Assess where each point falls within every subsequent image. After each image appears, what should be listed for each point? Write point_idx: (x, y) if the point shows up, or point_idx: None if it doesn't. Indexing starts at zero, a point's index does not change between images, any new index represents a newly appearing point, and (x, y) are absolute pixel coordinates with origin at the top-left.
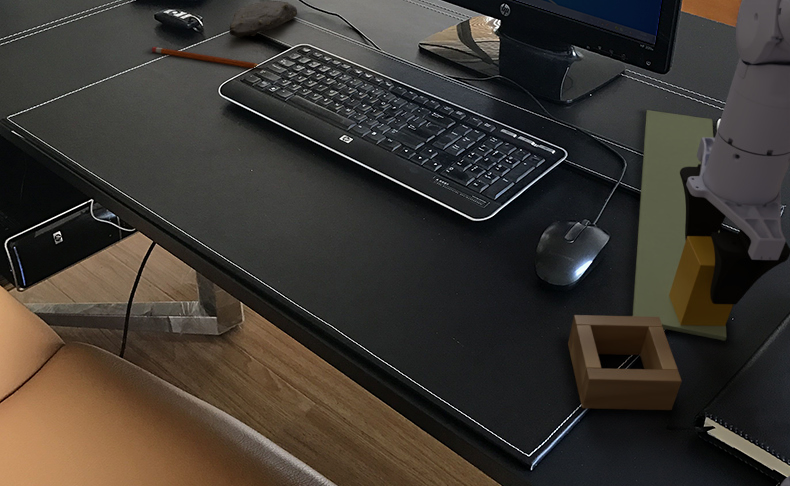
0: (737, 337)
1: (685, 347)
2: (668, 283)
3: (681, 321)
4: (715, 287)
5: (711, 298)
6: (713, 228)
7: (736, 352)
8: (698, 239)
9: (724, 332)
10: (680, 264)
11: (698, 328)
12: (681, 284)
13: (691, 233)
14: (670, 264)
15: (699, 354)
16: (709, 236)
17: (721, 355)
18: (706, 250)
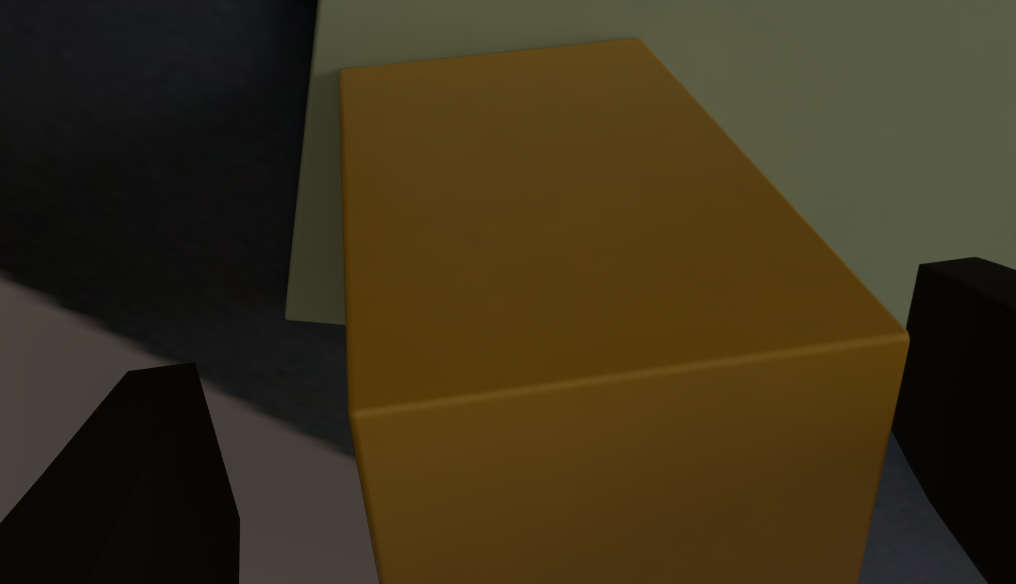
0: (332, 363)
1: (169, 72)
2: (758, 53)
3: (339, 80)
4: (24, 500)
5: (153, 376)
6: (1003, 544)
7: (206, 344)
8: (830, 436)
9: (319, 315)
10: (714, 169)
11: (329, 179)
12: (552, 137)
13: (1006, 348)
14: (939, 95)
15: (126, 149)
16: (949, 469)
17: (156, 268)
18: (638, 489)
